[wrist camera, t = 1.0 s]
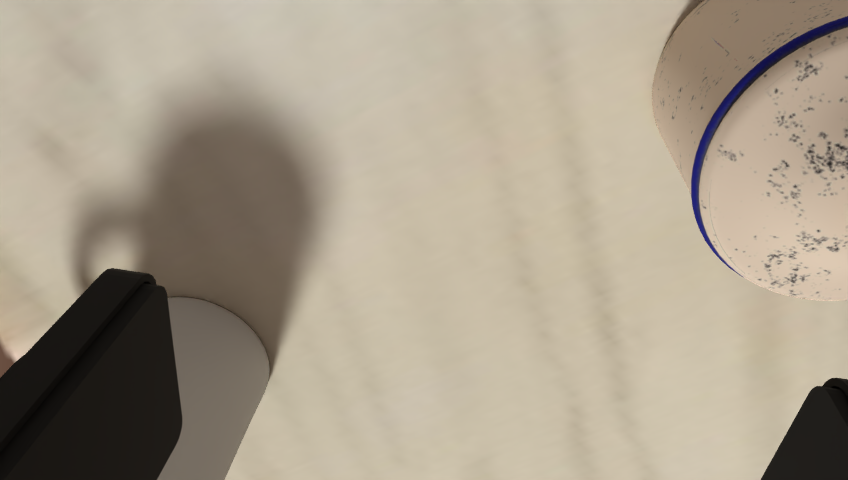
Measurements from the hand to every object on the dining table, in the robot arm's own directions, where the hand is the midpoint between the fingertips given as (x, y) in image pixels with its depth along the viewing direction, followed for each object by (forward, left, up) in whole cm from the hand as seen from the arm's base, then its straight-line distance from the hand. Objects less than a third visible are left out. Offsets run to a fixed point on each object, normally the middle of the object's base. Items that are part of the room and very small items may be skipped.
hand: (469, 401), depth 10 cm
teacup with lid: (0, +12, -21) cm, 24 cm away
